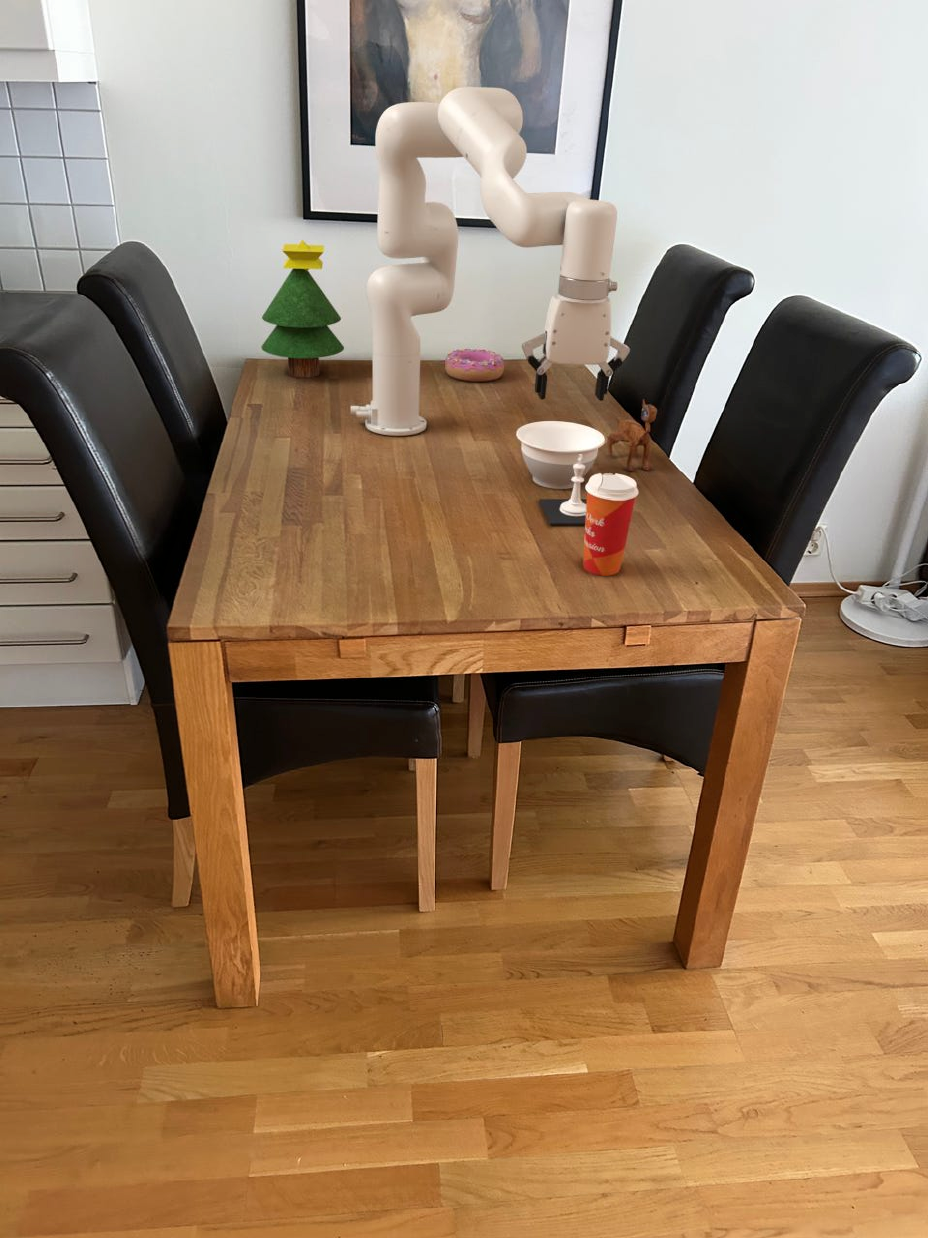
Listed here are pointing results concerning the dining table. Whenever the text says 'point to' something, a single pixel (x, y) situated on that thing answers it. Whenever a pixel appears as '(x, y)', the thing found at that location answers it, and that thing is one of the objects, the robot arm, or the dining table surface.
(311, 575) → the dining table surface
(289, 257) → the decorative tree
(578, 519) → the coaster
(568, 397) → the dining table surface
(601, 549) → the paper cup
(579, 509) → the chess piece
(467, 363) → the donut
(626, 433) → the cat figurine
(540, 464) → the bowl
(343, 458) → the dining table surface
